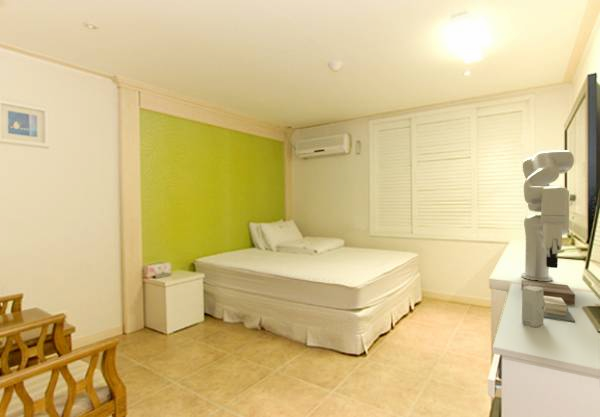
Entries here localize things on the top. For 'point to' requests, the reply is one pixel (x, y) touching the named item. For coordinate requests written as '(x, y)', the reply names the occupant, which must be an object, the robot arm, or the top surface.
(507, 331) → the top surface
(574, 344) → the top surface
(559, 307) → the beige rectangular block
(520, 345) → the top surface
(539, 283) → the step
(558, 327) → the top surface
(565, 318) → the mat
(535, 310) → the skincare box
